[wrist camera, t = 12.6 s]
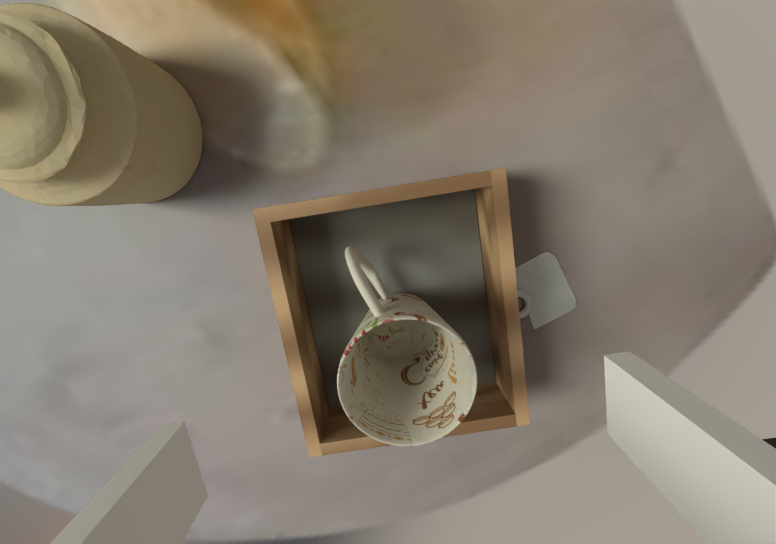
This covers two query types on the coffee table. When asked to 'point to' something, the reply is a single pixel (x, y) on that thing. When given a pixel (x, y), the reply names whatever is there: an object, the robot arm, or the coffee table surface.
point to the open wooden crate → (397, 290)
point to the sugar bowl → (88, 115)
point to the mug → (403, 367)
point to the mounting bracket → (543, 290)
